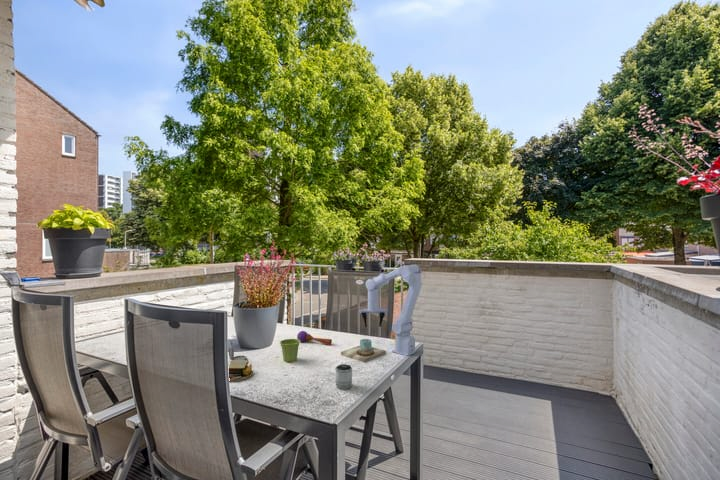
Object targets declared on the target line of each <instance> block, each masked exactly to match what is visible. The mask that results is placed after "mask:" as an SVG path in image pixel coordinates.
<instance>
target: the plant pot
mask: <svg viewBox="0 0 720 480" xmlns="http://www.w3.org/2000/svg"><path fill="white" fill-rule="evenodd" d="M300 343H301V342H300V340H298V339H297V338H287V339H282V340H280V341H279V344H280V347H281V352H282V358H283V362H286V363H287V362H290V363H292V362H295V361H297V359H298V352H299V346H300Z"/></svg>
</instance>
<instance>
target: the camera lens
mask: <svg viewBox="0 0 720 480" xmlns="http://www.w3.org/2000/svg"><path fill="white" fill-rule="evenodd" d="M352 385H353V367H352V366H351V365H350V364H341V363H340V364H339V365H337V366H336V368H335V386H336V389H339V390H341V391H342V390H344V391H345V390H350V389H351V388H352Z"/></svg>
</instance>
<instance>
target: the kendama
mask: <svg viewBox="0 0 720 480" xmlns="http://www.w3.org/2000/svg"><path fill="white" fill-rule="evenodd" d="M296 339H298V340H300V343H305V342H310V341H316V342H318V343H322V344H324V345H327V346H331V345H332V344H333V343H332V341H333V340H332V339H331V338H321V337H320V338H319V337H314V336H312V335H311V334H310V333H308V332H307V331H305V330H301V331H299V332H298V333H297V336H296Z"/></svg>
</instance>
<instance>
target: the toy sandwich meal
mask: <svg viewBox="0 0 720 480" xmlns="http://www.w3.org/2000/svg"><path fill="white" fill-rule="evenodd" d="M248 364H249V360H247V359H246V360H230V363H229V365H228V366H229V378H230V381H229V382H238V381H237V380H241V381H244V380H246V378H247V379H249V378H250V377H251V376H252V375H253V374H254V371H253V370H252V368H253V364H252V363H250V364H249V365H248Z"/></svg>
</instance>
